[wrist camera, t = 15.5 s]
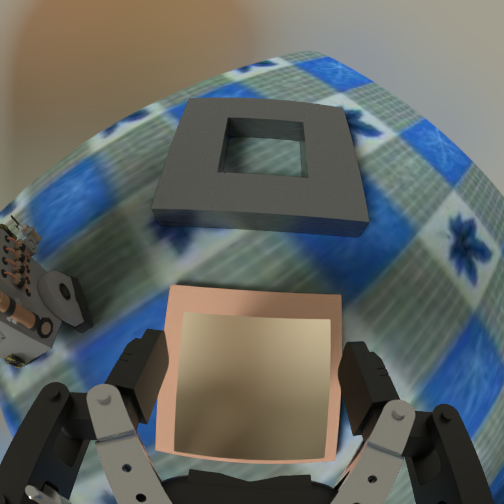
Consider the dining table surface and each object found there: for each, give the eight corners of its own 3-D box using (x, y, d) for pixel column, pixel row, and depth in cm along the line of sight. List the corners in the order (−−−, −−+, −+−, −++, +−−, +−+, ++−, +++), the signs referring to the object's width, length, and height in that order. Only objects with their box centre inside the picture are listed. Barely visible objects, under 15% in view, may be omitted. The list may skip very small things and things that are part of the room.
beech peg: (291, 343, 17) (330, 319, 9) (287, 417, 15) (324, 458, 7) (214, 339, 17) (183, 311, 9) (209, 413, 15) (173, 451, 7)
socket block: (337, 125, 27) (342, 108, 25) (358, 237, 21) (369, 222, 19) (192, 116, 27) (189, 98, 25) (160, 225, 21) (151, 208, 19)
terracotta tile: (338, 296, 19) (341, 294, 19) (332, 458, 14) (335, 460, 14) (172, 286, 19) (170, 284, 19) (158, 448, 14) (155, 450, 14)
